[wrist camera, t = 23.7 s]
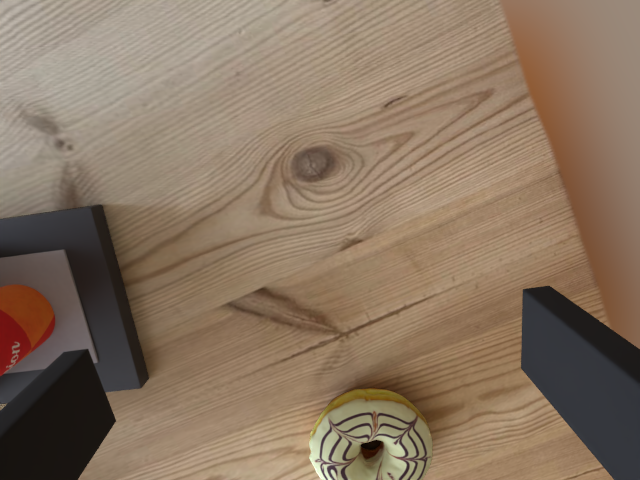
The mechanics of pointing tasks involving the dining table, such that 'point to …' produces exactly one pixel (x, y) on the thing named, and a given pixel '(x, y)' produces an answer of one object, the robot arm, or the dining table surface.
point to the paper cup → (22, 323)
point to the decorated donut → (371, 438)
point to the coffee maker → (72, 295)
